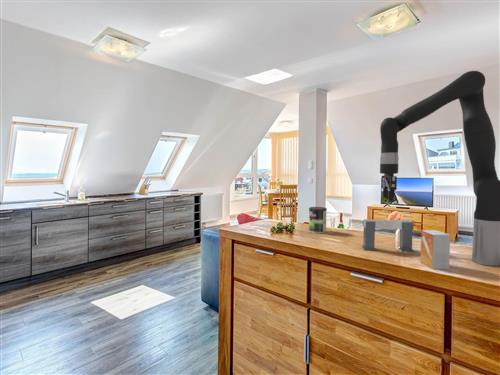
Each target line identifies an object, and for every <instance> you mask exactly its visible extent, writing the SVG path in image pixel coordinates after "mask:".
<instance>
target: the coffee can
mask: <svg viewBox="0 0 500 375" xmlns="http://www.w3.org/2000/svg"><path fill="white" fill-rule="evenodd" d="M327 211H328V210H327V207H323V206H310V207H309V208H308V219H309V220H308V232H309V233H312V234H324V233H326V232H327Z"/></svg>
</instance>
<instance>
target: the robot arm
mask: <svg viewBox="0 0 500 375" xmlns="http://www.w3.org/2000/svg"><path fill="white" fill-rule="evenodd" d="M485 85H486V76H485V75H484V74H483V73H482V72H480V71H479V70H469V71H466V72H465V73H463V74H461V75H460V76H458V77H457V78H456V79H454V80H453V81H451V83H449V84H448V85H446V86H445V87H443V88H442V89H440V90H439V91H437V92H434V93H433V94H432V95H430V96H427V97H426V98H423V99H422V100H420V101H418V102H417V103H415V104H413V105H410V106H409V107H407V108H405V109H404V110H403V111H402V112H401V113H400V114H398V115H396V116H394V117H386V118H384V119H383V120H382V122H381V123H380V127H379V128H380V139H381V140H380V142H381V144H380V159H379V173H380V174H382V175H381V184H380V185H381V189H382V198H383V199H388V200H392V201H393V200H395V192H396V191H397V181H398V180H397V179H398V177H397V175H395V174H398V173H399V141H398V133H399V132H401V131H403V130H404V129H405V128H407V127H408V126H410V125H412V124H415V123H417V122H419V121H421V120H423V119H425V118H427V117H428V116H430V115H431V114H433V113H435V112H436V111H438V110H439V109H441V108H443V107H444V106H446V105H448V104H450V103H451V102H454V101H456V100H459V101H458V102H459V104H460V107H461V111H462V129H463V137H464V142H465V146H466V151H467V154H468V155H467V156H468V159H469V162H470V165H471V170H472V181H473V183H472V187H473V193H474V195H475V196H476V201H475V202H476V204H475V210H474V212H473V228H472V234H473V235H472V247H471V248H472V252H471V254H472V255H471V261H472V262H473V263H476V264H480V265H484V266H490V267H495V266H496V267H500V180H499V177H498V174H497V170H496V165H495V163H496V162H495V158H496V152H497V150H496V147H497V146H496V144H497V143H496V137H495V136H496V135H495V131H494V126H493V124H492V121H491V118H490V116H489V114H488V111H487V108H486V106H485V100H484V99H485V98H484V87H485Z"/></svg>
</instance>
